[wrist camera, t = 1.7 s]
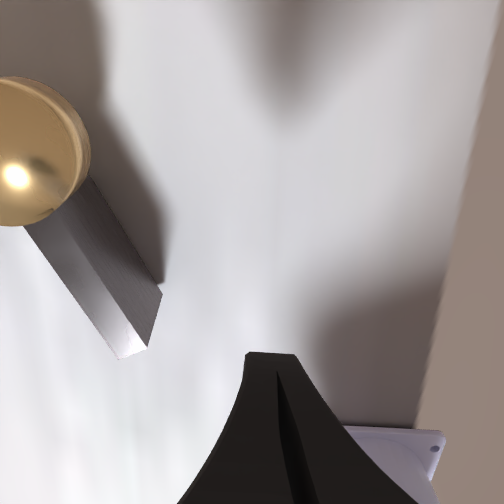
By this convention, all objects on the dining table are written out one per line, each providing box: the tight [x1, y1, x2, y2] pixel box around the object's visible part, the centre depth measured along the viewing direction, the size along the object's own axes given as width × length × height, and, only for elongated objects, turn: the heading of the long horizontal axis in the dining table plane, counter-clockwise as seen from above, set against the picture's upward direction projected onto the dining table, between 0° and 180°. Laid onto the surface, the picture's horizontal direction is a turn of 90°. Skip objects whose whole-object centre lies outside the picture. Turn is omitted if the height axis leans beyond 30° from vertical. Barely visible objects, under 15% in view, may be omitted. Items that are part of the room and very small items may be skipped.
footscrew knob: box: [0, 76, 163, 360], centre depth 16 cm, size 10×4×4 cm, turn 24°
